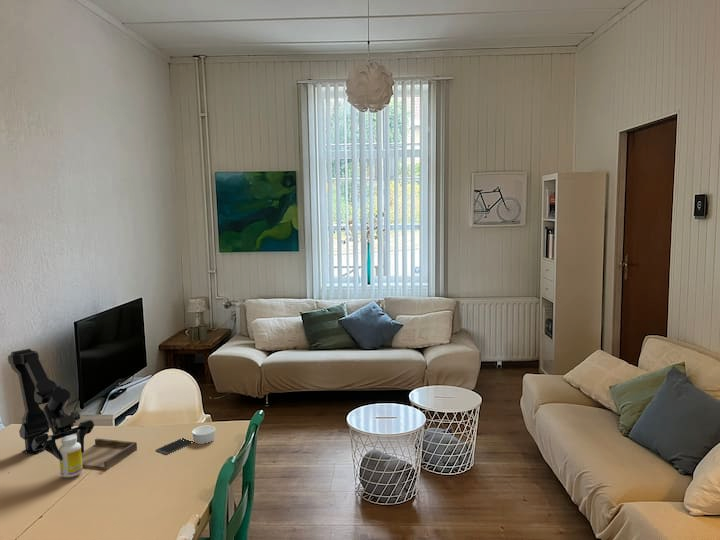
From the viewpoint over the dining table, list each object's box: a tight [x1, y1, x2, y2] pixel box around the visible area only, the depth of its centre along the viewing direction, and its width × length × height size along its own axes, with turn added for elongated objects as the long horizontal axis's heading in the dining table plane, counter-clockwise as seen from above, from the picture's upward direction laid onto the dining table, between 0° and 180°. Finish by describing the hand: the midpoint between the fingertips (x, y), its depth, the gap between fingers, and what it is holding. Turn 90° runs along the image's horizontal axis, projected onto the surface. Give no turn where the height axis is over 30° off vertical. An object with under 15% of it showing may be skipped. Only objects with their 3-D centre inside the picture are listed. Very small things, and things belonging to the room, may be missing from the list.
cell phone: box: [155, 437, 193, 456], centre depth 197 cm, size 7×14×1 cm, turn 147°
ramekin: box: [191, 425, 216, 445], centre depth 201 cm, size 9×9×4 cm
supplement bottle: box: [58, 434, 84, 478], centre depth 174 cm, size 7×7×13 cm
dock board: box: [82, 438, 138, 471], centre depth 188 cm, size 18×16×3 cm
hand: (72, 456), depth 173 cm, fingers closed on supplement bottle, 7 cm apart
